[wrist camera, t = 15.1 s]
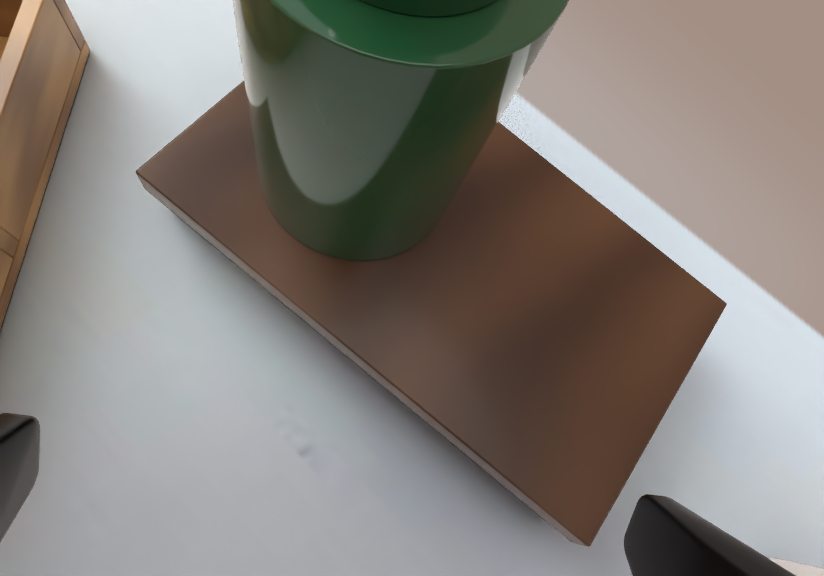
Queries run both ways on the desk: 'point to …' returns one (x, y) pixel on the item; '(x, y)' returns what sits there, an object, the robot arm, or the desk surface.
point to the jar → (799, 568)
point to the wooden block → (479, 311)
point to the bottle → (378, 108)
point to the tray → (32, 116)
